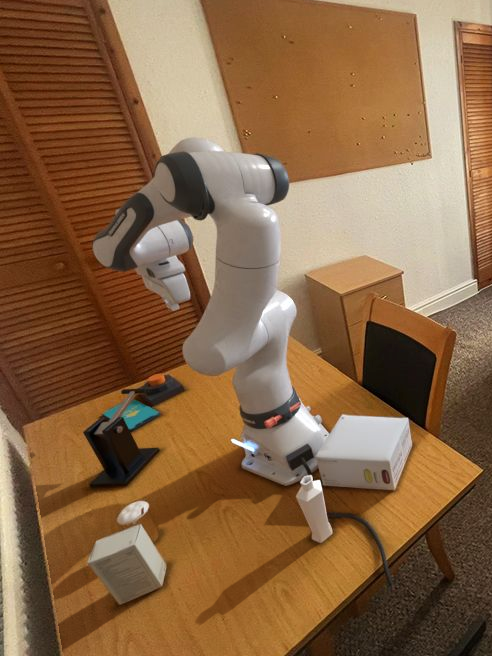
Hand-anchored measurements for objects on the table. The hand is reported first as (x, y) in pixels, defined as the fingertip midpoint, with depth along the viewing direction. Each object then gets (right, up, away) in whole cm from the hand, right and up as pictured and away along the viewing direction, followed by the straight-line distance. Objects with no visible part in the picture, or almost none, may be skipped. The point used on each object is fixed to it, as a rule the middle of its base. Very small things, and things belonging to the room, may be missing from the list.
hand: (174, 308), depth 113 cm
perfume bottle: (+57, -42, -32) cm, 78 cm away
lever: (+2, -23, -17) cm, 29 cm away
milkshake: (+23, -43, -33) cm, 59 cm away
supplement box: (+61, -36, -17) cm, 73 cm away
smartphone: (-11, -30, 0) cm, 32 cm away
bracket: (+3, -37, -17) cm, 40 cm away
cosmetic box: (+28, -46, -40) cm, 68 cm away
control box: (-11, -26, +8) cm, 29 cm away
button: (-11, -23, +7) cm, 26 cm away
